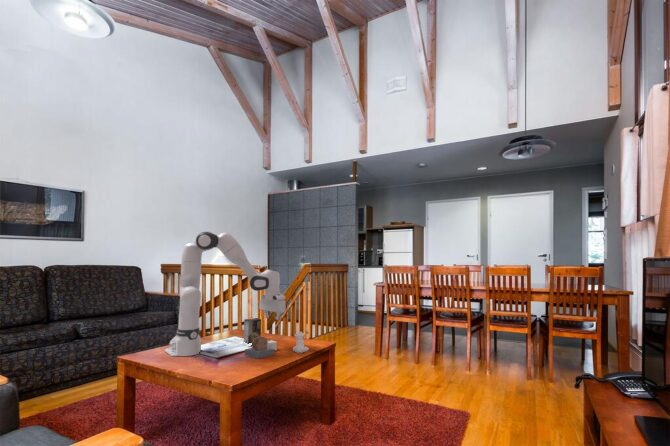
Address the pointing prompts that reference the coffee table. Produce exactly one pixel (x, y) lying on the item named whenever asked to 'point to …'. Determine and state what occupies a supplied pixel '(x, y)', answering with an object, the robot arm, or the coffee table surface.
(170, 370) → the coffee table surface
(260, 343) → the walnut block
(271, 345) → the cream block
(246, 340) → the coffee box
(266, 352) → the base
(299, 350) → the white creature statuette
